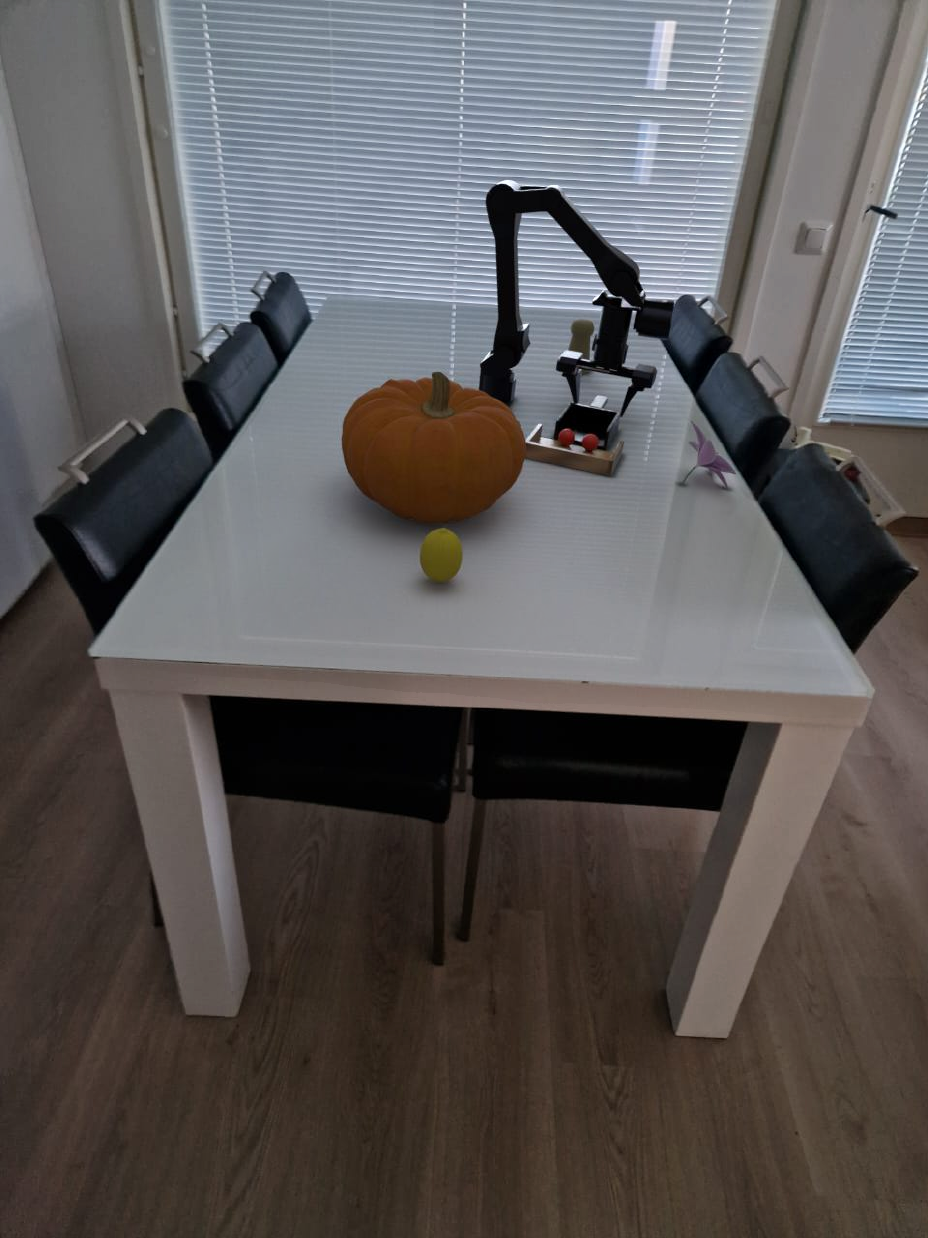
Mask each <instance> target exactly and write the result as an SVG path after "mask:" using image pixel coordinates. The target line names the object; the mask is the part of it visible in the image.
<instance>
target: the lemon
mask: <svg viewBox="0 0 928 1238" xmlns="http://www.w3.org/2000/svg"><path fill="white" fill-rule="evenodd" d="M419 552H420V553H419V564H420V568H421V570H422V572H423V573H424V574H425V576H426V577H427V578H428V579H430V580H432V581H435V582H436V583H438V584H441V583H443V582H448V581H450V580H452V579H453V578H454V577H455V576H457V574H458V573H459V572H460V570H461V567H462V564H463V558H464V553H463V546H462V543H461V539H460V538H459V537H458V536H457V534H456V533H454V532H453V531H452V530H449V529H447V528H445V527H441V528H437V529H435V530H434V529H433V530H432V531H430V532H429V533H428V534H426V536H425V537H424V539H423V541H422V543H421V546H420V551H419Z"/></svg>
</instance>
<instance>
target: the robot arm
mask: <svg viewBox="0 0 928 1238" xmlns="http://www.w3.org/2000/svg"><path fill="white" fill-rule="evenodd" d="M485 209H486V214H487V218H488V223H489V226H490V229H491V232H492V235H493V238H494V248H495V249H494V250H495V252H494V253H495V275H496V277H495V278H496V299H497V300H496V301H497V302H496V303H497V322H496V326H495V332H494V337H493V345H492V349H491V350H490V351H489V352H488V353H487V354H486V356H485V357H484V359H482V361H481V362H480V364H479V367H480V368H479V369H480V371H479V382H478V390H480V391H483V392H485V393H486V394H488V395H489V396H491V397H492V398H494V399H497V400H499V401H501V402H502V403H504V404H505V405H507V406H509V405H510V404H511V402H512V401H513V400H514V399H515V395H516V386H517V379H516V378H515V370H513V369H514V368H515V367H517V366H518V365H519V364H520V362H521V361H522V359H523V357H524V356H525V354H526V352H527V350H528V348H529V347H530V345H531V341H530V336H529V334H530V326H531V325H530V323H525V324H524V323H523V321H522V317H521V314H520V285H519V284H520V282H519V281H520V279H519V244H518V236H519V232H520V231H519V230H520V225H521V220H522V216H523V214H530V213H540V212H541V213H544V212H545V213H547V214H548V215H549V216H550V217H551V218H552V219H553V220H554V221H555V222H556V223H557V225H558V226H559V227H560V228H561V229H562V230H563V231H564V232H565V233H566V234H567V236H568V237H569V238H570V239H571V240H572V241H573V242H574V243H575V245H576V246H577V247H578V248H579V249H580V250H581V251H582V252H583V253H584V254H585V255H586V257H587V258H588V259H589V261H591V264H592V265H593V267H594V269H595V270H596V273H597V275H598V277H599V279H600V280H601V282H602V284H603V285H604V287H605V288H606V290H605V289H602V290H601V292H600V294H598V295H597V296H595V297H594V298H593V300H592V302H591V305H592V306H596V307H601V310H600V316H599V322H598V327H597V328H598V329H597V332H596V333H595V334H594V337H593V341H592V345H591V351H592V352H593V358H592V360H586V359H583V353H578V352H573V351H568V349H567V350H564V351H563V352H562V353H561V354H560V355H559V356H558V357H557V360H556V365H555V371H556V372H559V373H561V377H563V378H565V379H566V382H567V384H568V387H569V389H570V394H571V397H572V401H573V402H572V403H575V404H580V397H581V396H580V395H581V381H582V380H581V379H582V375H583V374H582V369H583V370H588V371H589V372H594V373H600V374H605V375H611V376H615V377H621V378H625V379H626V378H627V379H631V380H630V383H629V385H628V387H627V390H626V393H625V397H624V399H623V403H622V406H621V409H620V412H621V415H620V418H623V416H624V415H625V413H626V412H627V410H628V407H629V406H630V404H631V401H632V400H633V399H634V398H635V396H636V395H637V393H638V392H640V393H641V392H644V391H645V389H652V388H653V385H654V383H655V382H656V379H657V374H658V369H657V367H656V366H655V365H654V366H653V365H649V364H643V363H637V364H636V366H635V367H634V368H633V367H629V366H623V365H625V363H626V361H627V355H628V351H629V345H628V338H629V332H630V327H631V323H632V317H633V312H635V315H634V322H633V326H632V329H633V330H635V333H637V336H638V337H644V338H651V339H655V340H656V339H657V340H662V341H669V336H670V332H671V327H672V322H673V312H674V306H675V301H674V300H672V299H655V298H649V297H647V294H646V292H645V290H644V288H643V286H642V284H641V282H640V277H641V270H640V267H639V265H638V263H637V262H636V261H635V260H633V259H632V258H631V257H630V256H628V255H627V254H626V253H625V252H623V251H622V250H620V249H619V248H617V247H615V246H614V245H612V244H611V243H609V242H608V241H607V239H605V238H604V236H603V235H602V234H601V233H600V232H599V230H598V229H596V227H595V226H594V225H593V224H592V223H591V221H589V220H588V218H587V217H586V216H585V215H584V214H583V213H582V212H581V210H580V209H578V207H577V206H576V205H575V203H573V202H572V200H571V199H570V198H569V197H568V196H567V194H566V193H565V191H564V189H563V188H562V187H561V186H559V185H557V184H551V185H520V184H519V183H518V182H516V181H514V180H511V179H505V180H502V181H500V182H498V183H496V184H495V185H494V186H492V187H490V189H489V190H488V192H487V193H486V196H485ZM606 291H608V293H609V294H610V295H608V293H607V292H606ZM623 300H624V301H623Z"/></svg>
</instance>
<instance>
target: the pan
mask: <svg viewBox="0 0 928 1238" xmlns="http://www.w3.org/2000/svg"><path fill="white" fill-rule="evenodd" d="M608 400H609V397H608V396H603V395H596V397H595V398H594V399H593V401H592V402H591V403H590V405H586V404H581V403H578V404H575V403H574V402H569V403H568V405H567V406H566V407H565V408H564V410H563V411H562V412H561V413H560V414H559V416H558V417H557V418H556V420H555V424H554V425H555V426H554V432H553V440H559V439H558V436H559V433H560V432H561V431H562V430H564V429H570V430H572V431H573V432H574V434H575V440H574V442H573V443H572V444H577V445H582V439H583V438H584V437H585V436H586V435H588V434H593V435H595V436H596V437H597V438H598V441H599V444H598V447H597V448H596V449H600V450H607V449H608V447H609V446H610V444H611V442H612V441H613V439H614V437H615V435H616V433H617V432H618V430H619V424H620V420H621V417H620V415H621V411H615V410H611V409H606V408H605V407H606V405H607V404H608Z"/></svg>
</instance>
